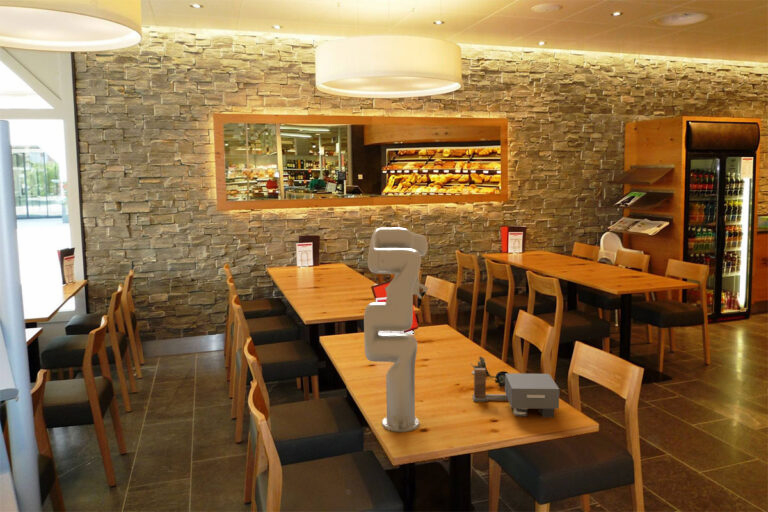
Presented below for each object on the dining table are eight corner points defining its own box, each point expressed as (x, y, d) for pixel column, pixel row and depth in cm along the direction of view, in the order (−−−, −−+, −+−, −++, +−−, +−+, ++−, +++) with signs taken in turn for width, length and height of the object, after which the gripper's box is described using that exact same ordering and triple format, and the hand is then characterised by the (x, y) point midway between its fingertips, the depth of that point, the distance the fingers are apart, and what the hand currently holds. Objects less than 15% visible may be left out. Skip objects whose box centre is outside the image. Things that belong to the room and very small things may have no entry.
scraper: (529, 402, 220) (529, 371, 219) (473, 401, 221) (473, 370, 220) (527, 398, 224) (527, 367, 223) (472, 397, 225) (472, 367, 224)
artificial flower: (494, 392, 235) (487, 369, 234) (471, 380, 257) (464, 359, 256) (513, 384, 237) (506, 360, 236) (489, 373, 259) (482, 351, 258)
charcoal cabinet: (558, 420, 203) (559, 389, 202) (511, 420, 204) (512, 389, 203) (548, 402, 220) (549, 373, 218) (504, 401, 221) (505, 373, 219)
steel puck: (529, 417, 207) (529, 411, 207) (514, 417, 207) (514, 411, 207) (526, 411, 212) (526, 406, 212) (512, 411, 212) (512, 406, 212)
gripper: (385, 267, 235) (385, 310, 237) (428, 267, 235) (428, 309, 237) (384, 265, 242) (385, 306, 244) (427, 264, 242) (427, 305, 245)
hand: (406, 307), depth 241 cm, fingers open, 9 cm apart
